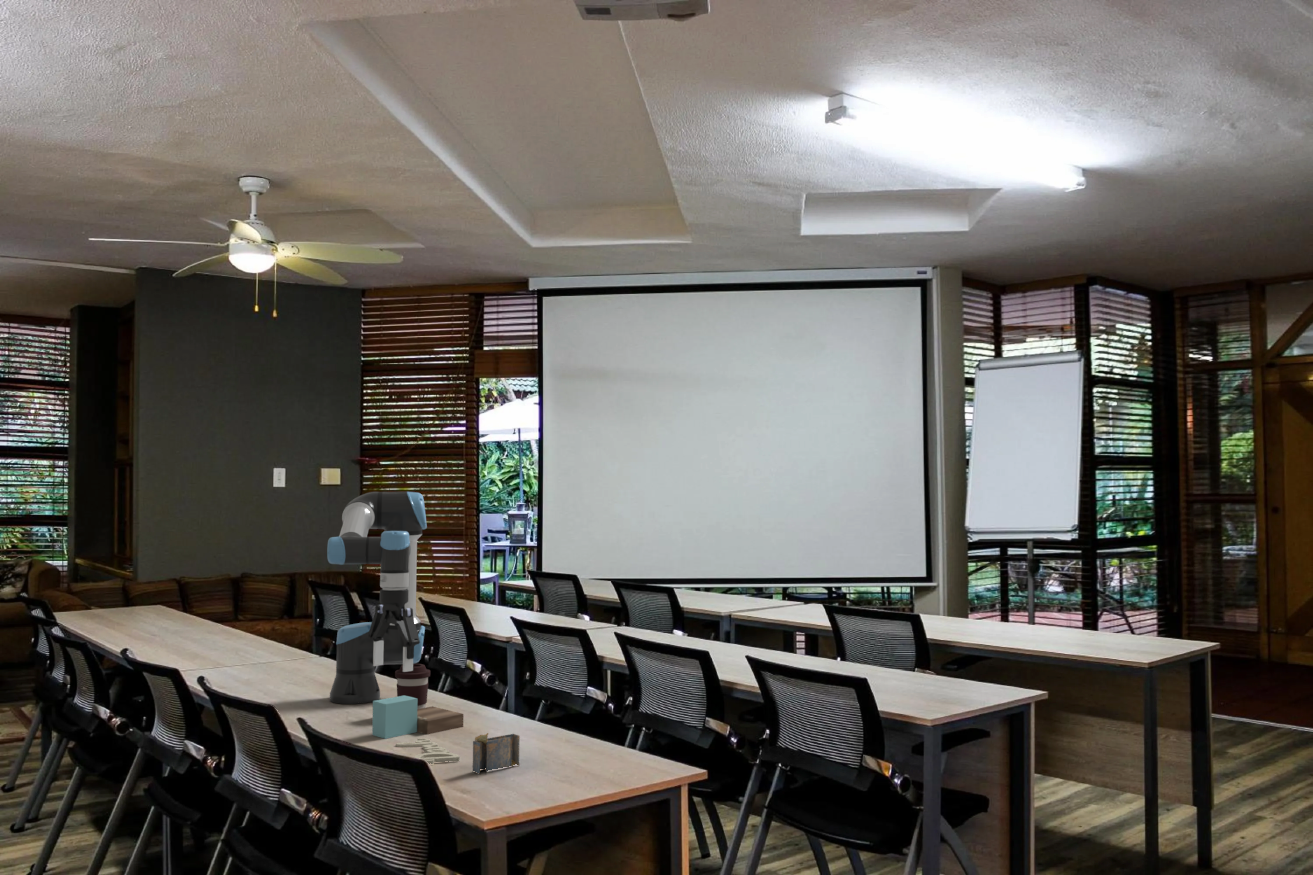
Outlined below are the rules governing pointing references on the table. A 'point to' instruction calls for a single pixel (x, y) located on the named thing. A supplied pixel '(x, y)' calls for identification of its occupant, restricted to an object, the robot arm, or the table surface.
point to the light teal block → (394, 716)
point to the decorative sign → (431, 751)
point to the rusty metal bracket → (495, 752)
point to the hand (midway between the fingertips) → (392, 668)
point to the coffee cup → (413, 683)
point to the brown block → (437, 720)
